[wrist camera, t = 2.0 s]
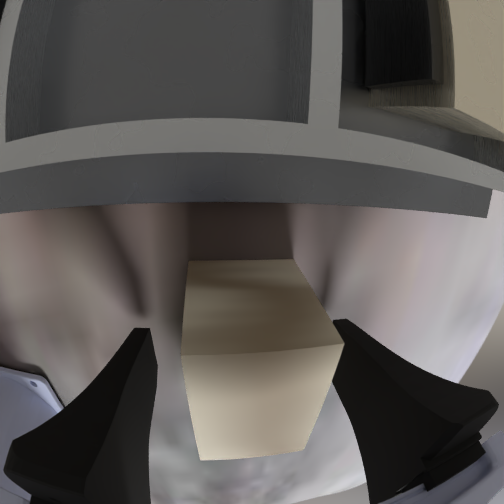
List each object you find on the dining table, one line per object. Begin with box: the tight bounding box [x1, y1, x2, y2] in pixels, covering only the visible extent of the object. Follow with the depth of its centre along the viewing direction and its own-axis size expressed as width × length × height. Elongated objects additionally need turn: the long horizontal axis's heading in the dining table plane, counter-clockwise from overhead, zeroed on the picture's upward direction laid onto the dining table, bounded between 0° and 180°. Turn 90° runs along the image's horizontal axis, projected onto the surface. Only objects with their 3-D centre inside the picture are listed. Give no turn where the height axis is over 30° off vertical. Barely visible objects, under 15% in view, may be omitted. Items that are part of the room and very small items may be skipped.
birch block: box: [181, 259, 344, 460], centre depth 10 cm, size 4×6×5 cm, turn 177°
